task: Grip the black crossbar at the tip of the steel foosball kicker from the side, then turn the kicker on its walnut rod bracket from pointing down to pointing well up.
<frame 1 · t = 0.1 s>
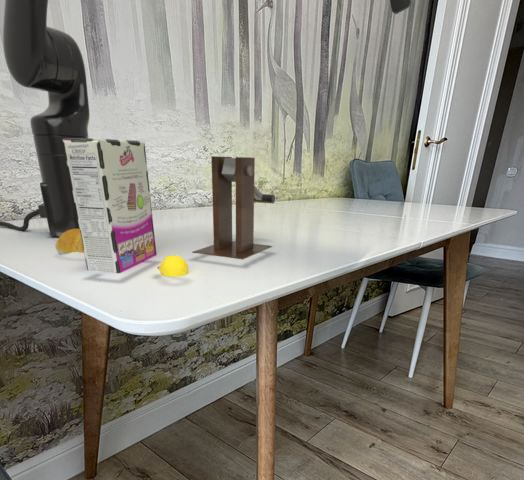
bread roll: (88, 255, 64), on the table
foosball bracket: (234, 256, 65), on the table
yellow lemon: (170, 281, 52), on the table
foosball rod: (247, 184, 64), point 11 cm above the table, hinge at -25.0°
candy bar box: (124, 271, 56), on the table
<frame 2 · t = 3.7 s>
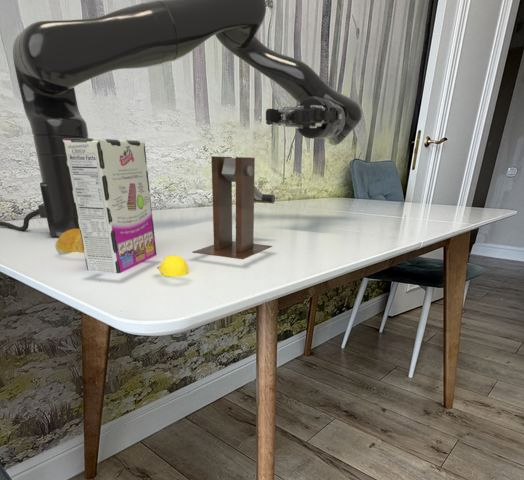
hand: (289, 114, 71), 22 cm above the table, tool horizontal, fingers open, 8 cm apart
nothing on the table moved.
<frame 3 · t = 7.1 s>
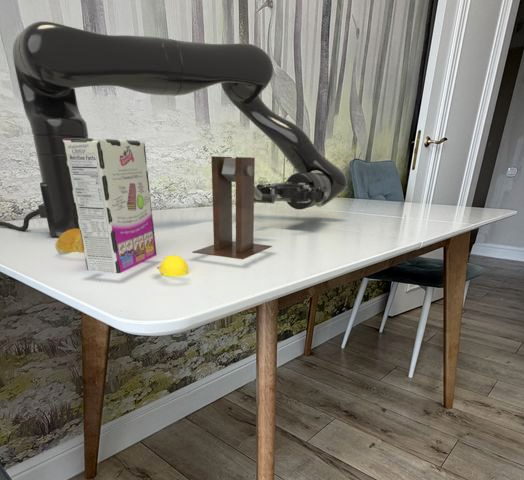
hand: (278, 194, 76), 8 cm above the table, tool horizontal, fingers open, 8 cm apart
nothing on the table moved.
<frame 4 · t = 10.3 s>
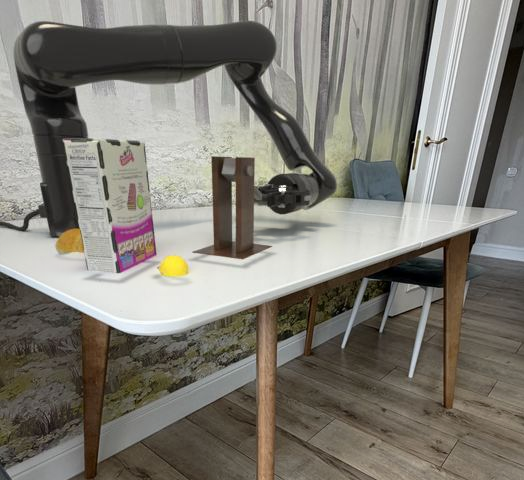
hand: (254, 199, 67), 8 cm above the table, tool horizontal, fingers closed on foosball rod, 5 cm apart
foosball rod: (247, 184, 64), point 11 cm above the table, hinge at -25.0°, touching gripper
everything else where it was.
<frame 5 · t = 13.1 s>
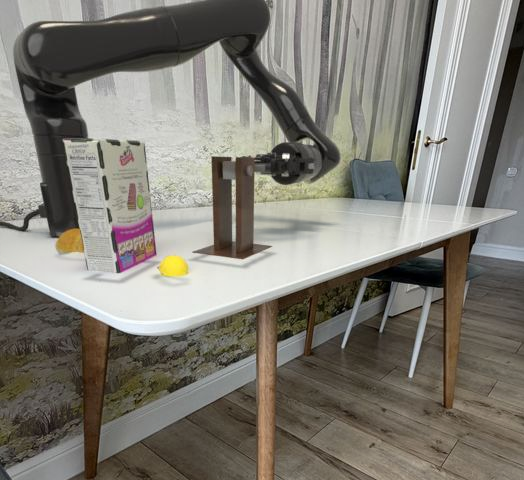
hand: (257, 166, 66), 13 cm above the table, tool horizontal, fingers closed on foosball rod, 5 cm apart
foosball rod: (248, 169, 63), point 13 cm above the table, hinge at 1.3°, touching gripper
everything else where it was.
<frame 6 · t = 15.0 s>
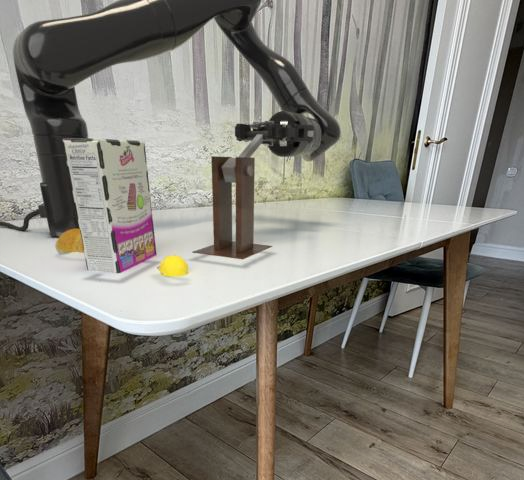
hand: (254, 131, 62), 19 cm above the table, tool horizontal, fingers closed on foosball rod, 5 cm apart
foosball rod: (247, 153, 62), point 15 cm above the table, hinge at 27.2°, touching gripper
everything else where it was.
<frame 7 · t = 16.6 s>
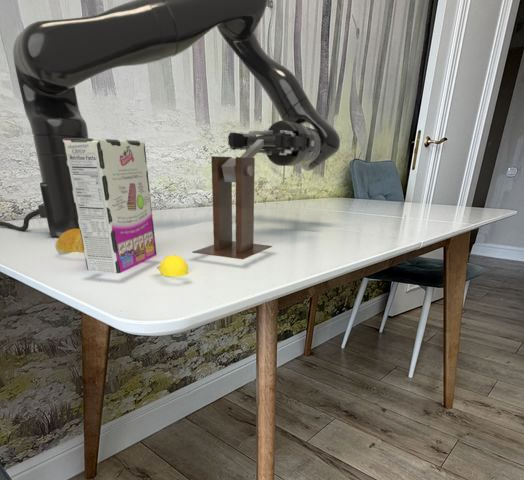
hand: (254, 140, 63), 17 cm above the table, tool horizontal, fingers open, 8 cm apart
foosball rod: (247, 155, 62), point 15 cm above the table, hinge at 22.9°
everything else where it was.
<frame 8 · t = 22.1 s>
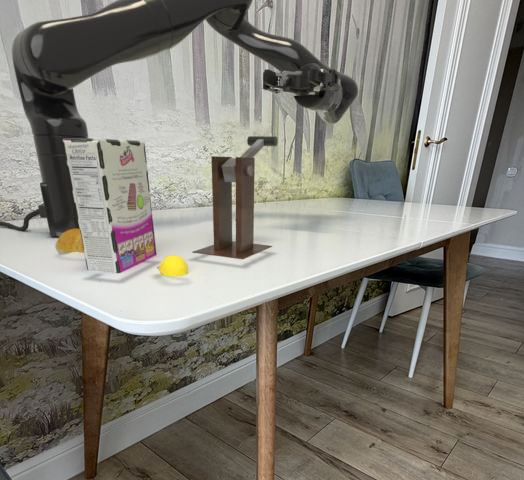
hand: (287, 75, 69), 28 cm above the table, tool horizontal, fingers open, 8 cm apart
nothing on the table moved.
at the end: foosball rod at +23° (first picture: -25°); the gripper is holding nothing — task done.
